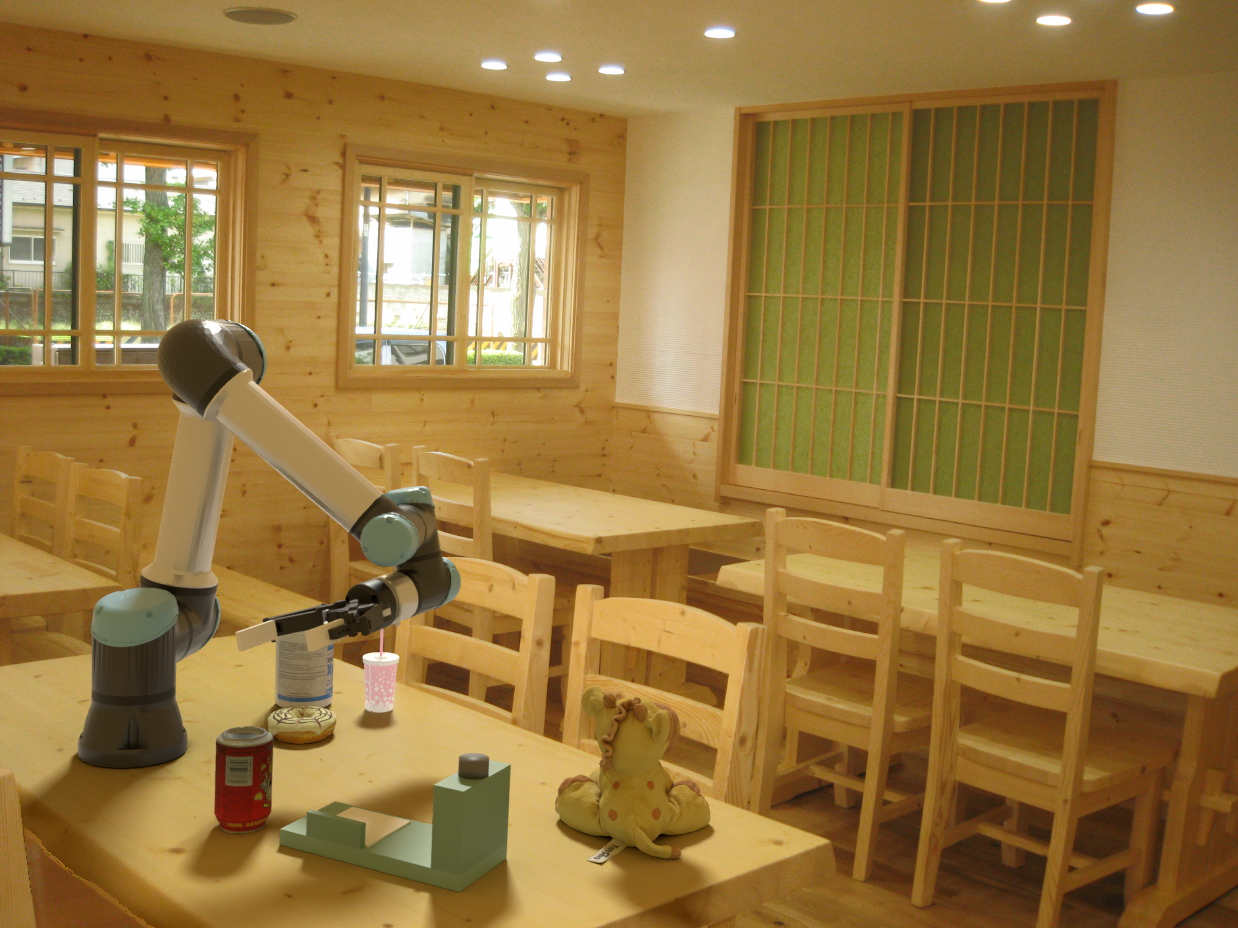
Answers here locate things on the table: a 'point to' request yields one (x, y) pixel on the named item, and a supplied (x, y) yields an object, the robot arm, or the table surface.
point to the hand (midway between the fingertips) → (272, 641)
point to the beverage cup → (380, 679)
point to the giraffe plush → (631, 780)
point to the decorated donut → (301, 724)
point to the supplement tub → (303, 672)
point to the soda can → (243, 779)
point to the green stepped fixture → (420, 830)
